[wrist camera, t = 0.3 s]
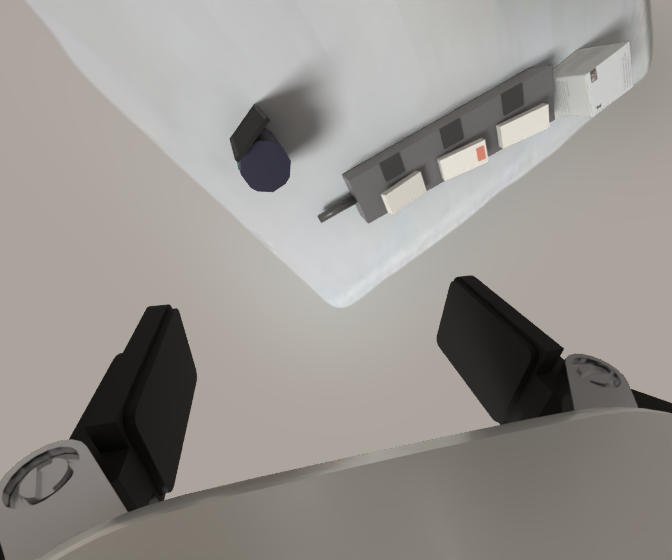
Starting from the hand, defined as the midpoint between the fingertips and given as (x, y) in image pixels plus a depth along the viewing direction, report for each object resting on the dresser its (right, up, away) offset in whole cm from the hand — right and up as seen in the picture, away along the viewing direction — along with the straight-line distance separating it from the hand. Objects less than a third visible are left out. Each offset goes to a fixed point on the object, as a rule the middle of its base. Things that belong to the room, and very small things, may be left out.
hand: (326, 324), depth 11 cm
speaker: (-10, +19, +29) cm, 37 cm away
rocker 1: (+10, +14, +31) cm, 35 cm away
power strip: (+13, +20, +35) cm, 42 cm away
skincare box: (+34, +31, +34) cm, 57 cm away
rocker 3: (+25, +22, +30) cm, 45 cm away
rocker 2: (+18, +18, +31) cm, 40 cm away
